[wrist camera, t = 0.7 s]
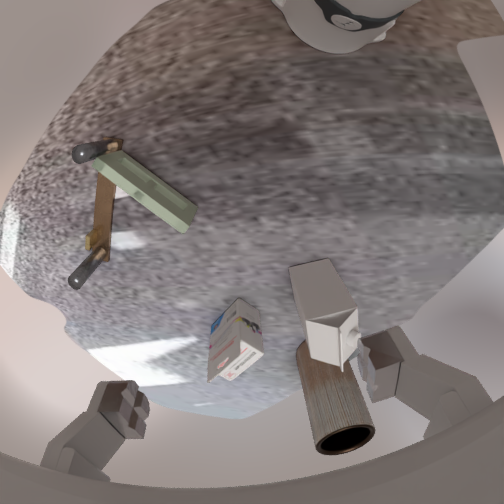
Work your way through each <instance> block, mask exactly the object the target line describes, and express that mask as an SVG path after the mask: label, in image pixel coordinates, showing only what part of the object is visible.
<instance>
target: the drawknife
mask: <svg viewBox="0 0 504 504" xmlns="http://www.w3.org/2000/svg"><path fill="white" fill-rule="evenodd" d="M122 144H123V139H116V138H109V137H104V138H103V140H101V141H96V142H91V143H86V144H81V145H77V146H76V147H74V149H73V151H72V158H73V160H74V162H76V163H78V164H81V163H84V162H87V161H90V160H94V159H96V157H98V156H102V155H105V154H109V153H112V152H116V151H119V150H122ZM115 190H116V184H114V183H113V182H112V181H110V180H109V179H108V178H106V177H105V176H104V175H102V174H101V173H100V172H98V180H97V189H96V199H95V211H94V226H93V230H92V231H91V232H90V233H89V234H87V235H86V245H85V249H86V250H90V249H91V248H92V247H93V251H92V253H91V254H90V255H89V256H88V257H87V258H86V259H85V260H84V261H83V262H82V263H81V264H80V265H79V267H78V268H77V269H76V270H75V271H74V272H73V273H72V274H71V275H70V276H69V278H68V283H69V285H70V286H71V287H72V288H73V289H76V290H78V289H80V288H81V287H82V285H83V284H84V283H85V282H86V280H87V279H88V278H89V277H90V275H91V274H92V273H93V272H94V271H95V269H96V268H97V267H98V266H99V265H100V264H101V262H102V261H106V262H108V261H109V260H110V244H111V230H112V218H113V208H114V199H115Z"/></svg>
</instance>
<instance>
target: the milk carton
mask: <svg viewBox="0 0 504 504" xmlns="http://www.w3.org/2000/svg"><path fill="white" fill-rule="evenodd" d="M289 273H290V279H291V284H292V289H293V295H294V300H295V304H296V307H297V310H298V314H299V317H300V321H301V324H302V328H303V331H304V334H305V338H306V341H307V345H308V349H309V352H310V356H311V358H313V359H316V360H319V361H323V362H326V363H329V364H333V365H336V366H340V368H341V371H342V372H343V363H344V362H345V361H346V360H347V359H348V358H349V356H350V355H351V354H352V353H353V352H354V350H355V349H356V348H357V341H358V338H361V333H360V332H358V307H357V305H356V303H355V302H354V300H353V298H352V296H351V295H350V293H349V291H348V290H347V288H346V286H345V285H344V283H343V281H342V280H341V278H340V276H339V275H338V273H337V271H336V270H335V268H334V266H333V265H332V263H331V262H330V260H329V259H323V260H319V261H315V262H310V263H306V264H302V265H297V266H293V267H289Z"/></svg>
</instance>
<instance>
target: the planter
mask: <svg viewBox="0 0 504 504" xmlns="http://www.w3.org/2000/svg"><path fill="white" fill-rule="evenodd" d="M296 360H297V365H298V369H299V374H300V378H301V383H302V388H303V392H304V397H305V401H306V406H307V410H308V415H309V420H310V424H311V429H312V433H313V439H314V443H315V447H316V450H317V451H318V452H319V453H321V454H324V455H339V454H344V453H347V452H351V451H353V450H356V449H357V448H360V447H362V446H363V445H365V444H366V443H367V442H369V441H370V440H371V439H372V437H373V436H374V434H375V427H374V424H373V422H372V419H371V416H370V414H369V411H368V408H367V406H366V403H365V401H364V398H363V396H362V393H361V390H360V388H359V385H358V383H357V380H356V378H355V375H354V373H353V370H352V368H351V365H350V363H349V360H348V359H347V360H346V361H345V362H344V363H343V372H342V371H341V368H340V366H336V365H333V364H329V363H326V362H323V361H319V360H316V359H313V358H311V356H310V352H309V349H308V345H307V341H304V342H303V343H302V344H301V345H300V346H299V348H298V350H297V352H296Z"/></svg>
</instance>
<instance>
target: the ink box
mask: <svg viewBox="0 0 504 504" xmlns="http://www.w3.org/2000/svg"><path fill="white" fill-rule="evenodd" d="M263 355H264V348H263V340H262V332H261V323H260V315H259V310H257V309H256V308H254V307H253V306H251V305H250V304H248V303H246V302H245V301H243V300H242V299H240V298H238V299H237V300H236V301H235V302H234V303H233V304H232V305H231V306H230V307H229V309H228V310H227V311H226V312H225V313H224V314H223V315H222V316H221V317H220V318H219V319H218V320H217V321H216V322H215V323H214V324H213V325H212V327H211V337H210V347H209V358H208V380H207V382H208V383H210V382H211V381H212V380H213V379H214V378H215V377H216V376H218V375H220V376H222V377H224V378H225V379H227V380H229V381H232V380H233V379H235V378H236V377H237V376H238V375H240V374H241V373H242V372H243V371H244V370H246V369H247V368H248V367H249V366H251V365H252V364H253V363H254V362H255V361H257V360H258V359H259V358H260V357H261V356H263Z"/></svg>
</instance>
